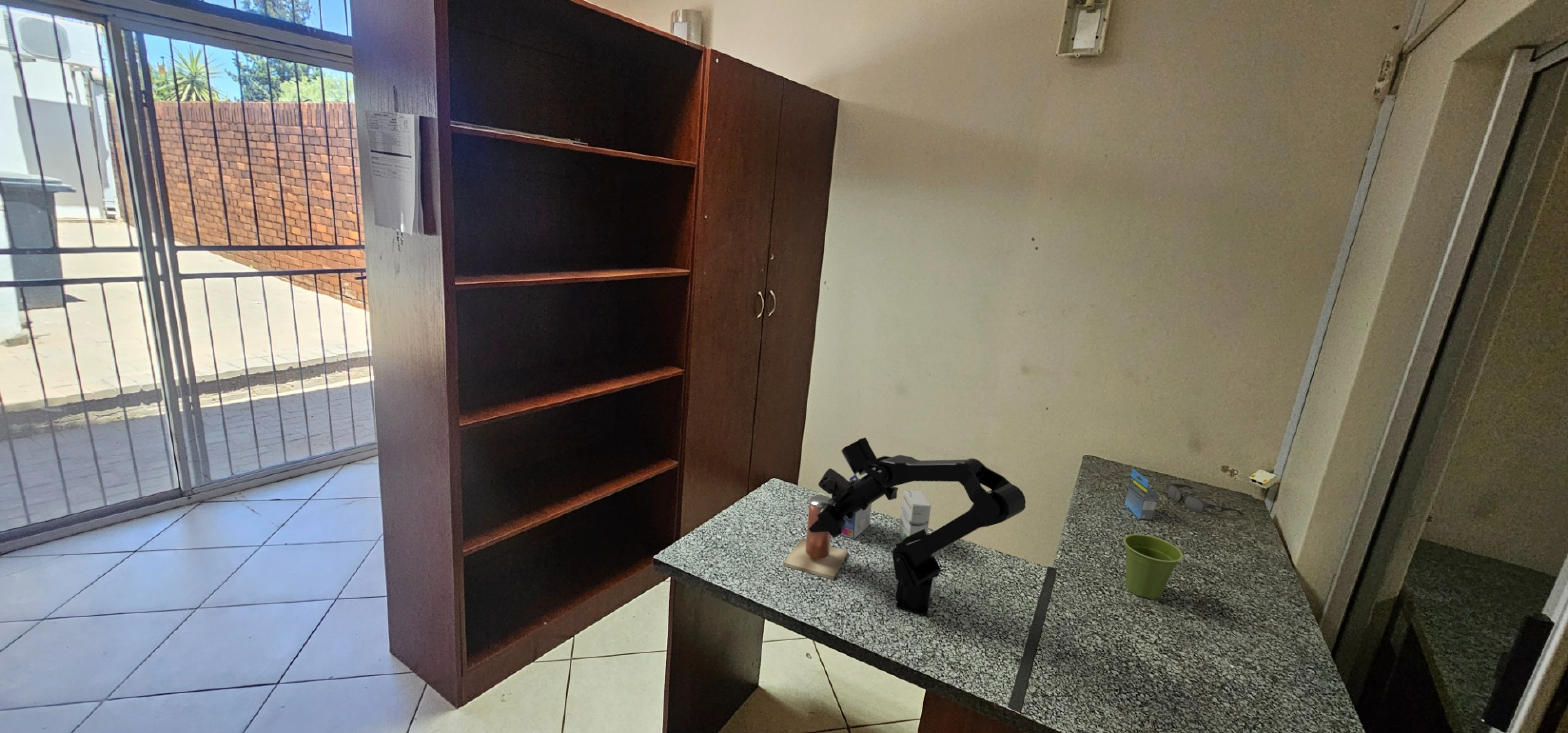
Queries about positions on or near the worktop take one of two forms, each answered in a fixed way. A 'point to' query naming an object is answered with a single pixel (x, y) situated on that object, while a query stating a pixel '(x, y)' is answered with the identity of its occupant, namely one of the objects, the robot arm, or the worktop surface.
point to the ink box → (913, 513)
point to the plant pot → (1149, 564)
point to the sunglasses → (1193, 499)
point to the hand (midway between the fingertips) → (814, 524)
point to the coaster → (816, 561)
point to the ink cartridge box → (857, 520)
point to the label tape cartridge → (1140, 497)
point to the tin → (817, 540)
